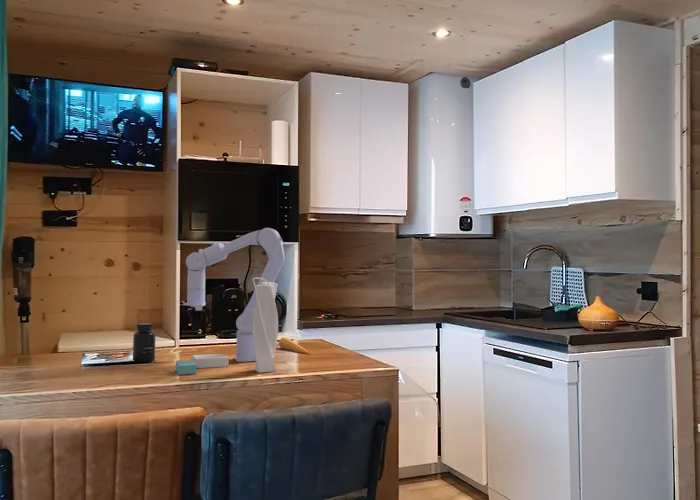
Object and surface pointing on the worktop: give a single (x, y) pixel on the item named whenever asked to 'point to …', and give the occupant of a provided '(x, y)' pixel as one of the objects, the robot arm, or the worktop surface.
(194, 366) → the stub
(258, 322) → the skyscraper
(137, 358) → the supplement bottle
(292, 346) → the carrot
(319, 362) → the worktop surface
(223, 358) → the gray rectangular block
